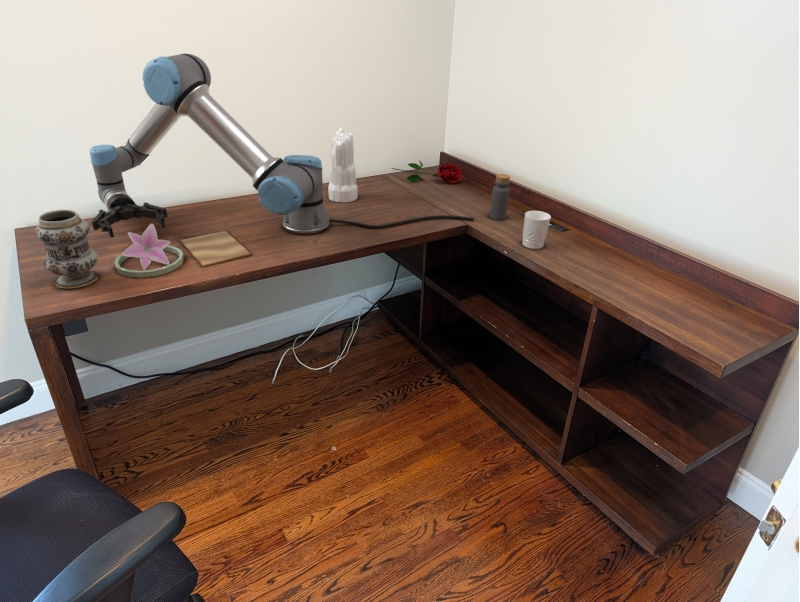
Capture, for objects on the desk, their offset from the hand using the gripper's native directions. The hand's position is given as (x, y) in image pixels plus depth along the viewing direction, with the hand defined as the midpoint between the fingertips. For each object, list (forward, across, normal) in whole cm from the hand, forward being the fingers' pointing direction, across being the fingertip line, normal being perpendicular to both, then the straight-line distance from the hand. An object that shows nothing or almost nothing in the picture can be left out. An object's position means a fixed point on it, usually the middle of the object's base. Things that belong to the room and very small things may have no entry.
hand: (137, 227), depth 149 cm
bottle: (+33, -111, -8) cm, 116 cm away
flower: (-12, -115, -8) cm, 115 cm away
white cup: (+56, -103, -8) cm, 118 cm away
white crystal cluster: (-12, -74, -8) cm, 76 cm away
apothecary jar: (+8, +18, -8) cm, 21 cm away
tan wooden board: (+7, -18, -8) cm, 21 cm away
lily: (+7, 0, -8) cm, 11 cm away
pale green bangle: (+7, 0, -8) cm, 11 cm away
